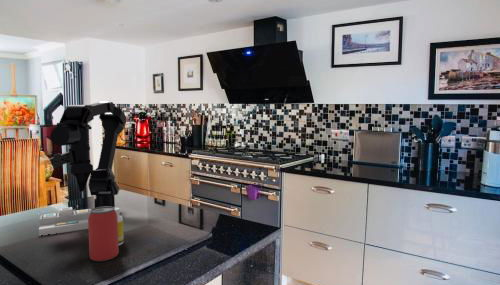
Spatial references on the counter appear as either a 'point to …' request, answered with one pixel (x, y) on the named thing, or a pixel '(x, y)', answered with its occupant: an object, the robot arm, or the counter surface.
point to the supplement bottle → (119, 226)
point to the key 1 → (49, 215)
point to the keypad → (63, 223)
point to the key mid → (66, 211)
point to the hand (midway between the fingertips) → (81, 191)
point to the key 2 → (82, 211)
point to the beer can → (103, 233)
